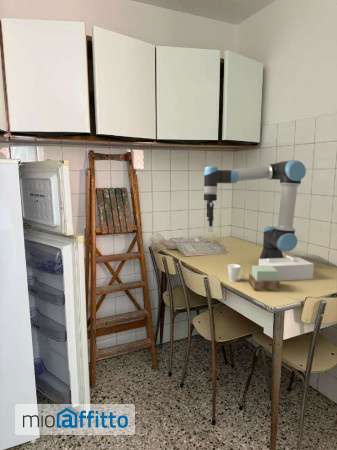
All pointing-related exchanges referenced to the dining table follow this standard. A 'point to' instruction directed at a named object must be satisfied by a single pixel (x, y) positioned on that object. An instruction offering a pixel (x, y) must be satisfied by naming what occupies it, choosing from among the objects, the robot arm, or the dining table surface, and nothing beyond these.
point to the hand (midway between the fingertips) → (209, 229)
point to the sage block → (264, 273)
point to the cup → (234, 272)
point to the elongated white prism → (290, 267)
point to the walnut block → (263, 284)
